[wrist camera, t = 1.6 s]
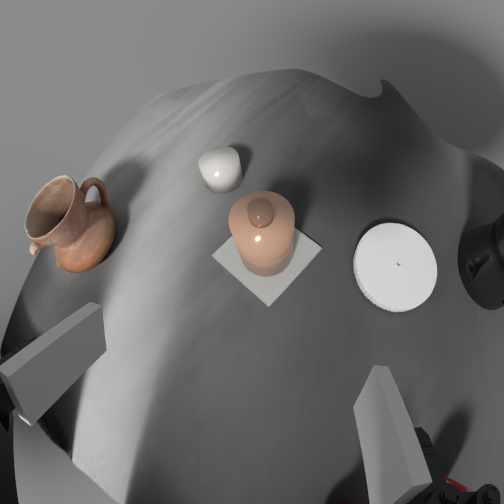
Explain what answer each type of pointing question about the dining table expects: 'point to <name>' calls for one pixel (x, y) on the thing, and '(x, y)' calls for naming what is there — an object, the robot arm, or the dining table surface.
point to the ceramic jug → (71, 223)
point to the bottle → (263, 232)
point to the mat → (272, 285)
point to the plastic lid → (395, 267)
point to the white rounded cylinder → (221, 169)
